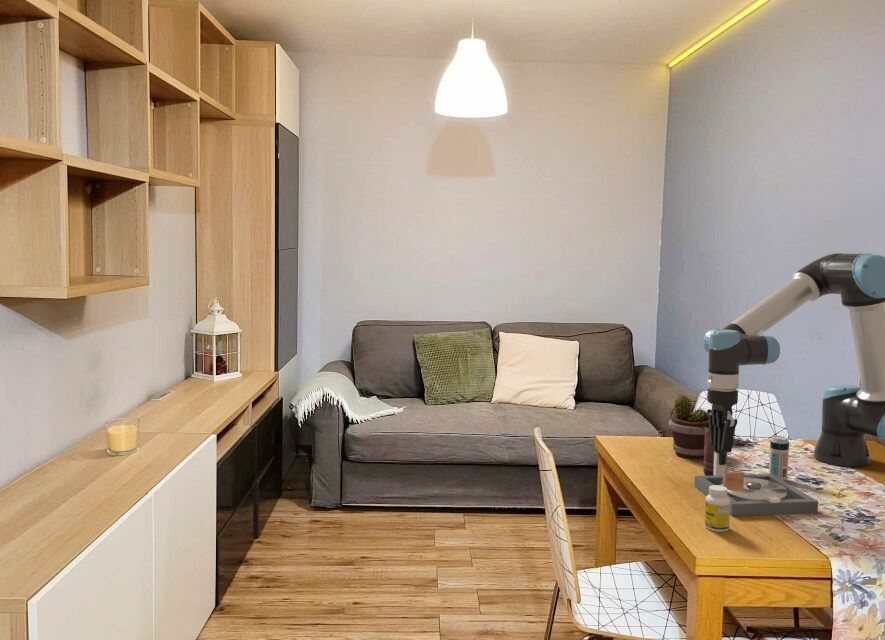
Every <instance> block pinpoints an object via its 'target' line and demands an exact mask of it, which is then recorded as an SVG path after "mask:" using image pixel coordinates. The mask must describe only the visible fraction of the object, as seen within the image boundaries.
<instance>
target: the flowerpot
mask: <svg viewBox="0 0 885 640" xmlns="http://www.w3.org/2000/svg"><path fill="white" fill-rule="evenodd" d="M688 397H689V395H686V394H684V393H683V392H681V394H680V393H679V395H677V396H676V398H675V399H674V400H673V401H674V402H673V403H674V404H673V406H672V408H673V412H674V415H673V416H672V417H671V418H670V419H669V421H668V428H669V429H670V431H671V434H672V439H673V442H672V444H671V445H672V449H673V451H674V453H675V454H676V455H677V456H679V457H683V458H687V459H704V446H705V430H706V427H707V426H709V419H708V415H707V413H706V412H707V409H706V408H702V407H701V406H698V409H695V410H694V411H692V408H691V407H692V406H693V405H694V403H692V399H691V398H690V397H689V398H688Z"/></svg>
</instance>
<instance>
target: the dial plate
mask: <svg viewBox="0 0 885 640" xmlns="http://www.w3.org/2000/svg"><path fill="white" fill-rule="evenodd" d="M744 477H749V478H758V479H764V480H768V481H772V482H775V483H778V484H780V485H782V486H784V487H785V488H786V489H787V500H780V499H779V498H777V497H767V500H755V501H735V500H734V499H733V498H731V497H730V496H729V495H726V496H727V497H728V498H729V499H730V516H731V517H740V516H741V517H742V516H743V517H744V516H745V517H747V516H772V515H801V514H805V515H807V514H818V511H819V501H818V499H815V498H813V497H812V496H810V495H808V494H807V493H805V492H803V491H802V490H800V489H799V488H796V487H795V486H794V485H791V484H790V483H788V482H787V481H786V480H785V481H783V480H782V479H780V478H778V477H777V476H775V475H773V474H769V473H756V474H755V473H753V474H751V473H750V474H748V473H747V474H745V473H744ZM722 481H723V476H715V475H711V476H706V475H695V476H694V488H696V489H697V490H698V491H700V493H702V494H704V496H706V497H707V496H708V495H710V493H709V487H710V486H712V485H720V486H721V482H722Z"/></svg>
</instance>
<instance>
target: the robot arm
mask: <svg viewBox="0 0 885 640" xmlns="http://www.w3.org/2000/svg"><path fill="white" fill-rule="evenodd" d="M790 279H791V280H790V281H788V282H787V283H786V284H783V286H781V287H780V288H778V289H777V290H775V291H774V292H772V294H770V295H768V296H767V297H766V298H764V299H763V300H762V301H760V302H759V303H757V304H756V305H754V306H753V307H752V308H750V309H749V310H747V311H746V312H744V313H743V314H741V315H740V316H739V317H737V318H736V319H734V320H733V321H732V322H730V323H729V324H728V325H725V327H723V328H721V329H720V328H715V329H714V328H713V329H711V330H708V331H707V332H706V333H705V335H704V337H703V340H702V344H703V348H704V350H705V351H706V352H707V353H708V374H707V375H708V376H706V379H707V381H708V382H707V387H709V388H707V395H706V396H707V399H706V401H707V402H708V403H709V404H711V408H709V409H706V412H707V414H708V419H709V434H710V445H711V446H713V450H715V451H714V472H713V475H715V476H723V472H727V468H726V454H727V455H728V453H731V452H732V449H733V443H734V438H735V437H734V436H735V431H736V427H737V425H738V420H737V418H736V419H734V418H733V406H734V405H737V404H738V402H739V399H738V397H739V391H738V390H737V389H738V388H739V380H740V374H739V373H740V366H748V365H749V366H753V365H763V366H765V365H768V364H773V363H776V362H777V361H778V359H779V358H780V355H781V345H780V343H779V341H778V340H777V339H776V338H775V337H774V336H772V335H763V334H764V333H765V332H767V331H768V330H769V329H771V328H772V327H773V326H775V325H776V324H778V323H780V322H781V321H782V320H784V319H785V318H787V317H788V316H789V315H790V314H792V313H793V312H795V311H796V310H798V309H799V308H800V307H802V306H803V305H804V304H806V303H807V302H814V301H817V300H818V299H819V298H821V297H822V296H823V297H824V296H826V295H840V298H841V304H842V306H843V307H844V308H846V309H847V310H849V316H850V322H851V328H852V330H851V331H852V335H853V342H854V350H855V353H856V354H855V355H856V361H857V367H858V373H859V374H858V375H859V381H860V382H859V383H860V385H856V384H855V385H854V384H853V385H849V384H848V385H847V384H845V385H843V384H841V385H840V384H839V385H830V386H826V387H825V388H824V390H823V397H822V406H821V407H822V410H821V412H822V413H821V415H822V416H821V433H820V436H819V438H818V440H817V443H816V445H815V447H814V449H813V451H814V452H813V457H814V459H815V460H817V461H819V462H821V463H824V464H829V465H833V466H839V467H850V468H851V467H853V468H855V467H856V468H859V467H866V466H869V465H870V464H871V463H870V462H871V455H870V452H869V448H868V444H867V442H866V437H865V435H870V436H872V437H875V438H879V439H880V440H885V256H883V255H880V254H873V253H841V252H840V253H835V252H834V253H831V254H827V255H824V256H821V257H819V258H818V259H815V260H813V261H812V262H810V263H808V264H807V265H804V266H803V267H802V268H800V269H799V270H798V271H796V272H795V273H793V274H792V275H791V278H790Z"/></svg>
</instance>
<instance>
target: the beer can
mask: <svg viewBox="0 0 885 640" xmlns="http://www.w3.org/2000/svg"><path fill="white" fill-rule="evenodd" d="M769 443H770V444H769V464H768V474H773V475H775V476H777V477H778V478H780V479H782V480H783V481H785V482H786V481H787V480H788V473H789V472H788V471H789V470H788V469H789V455H790V454H789V452H790V441H789V439H788V437H786V436H782V435H773V436H772V437H771V439H770V441H769Z"/></svg>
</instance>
